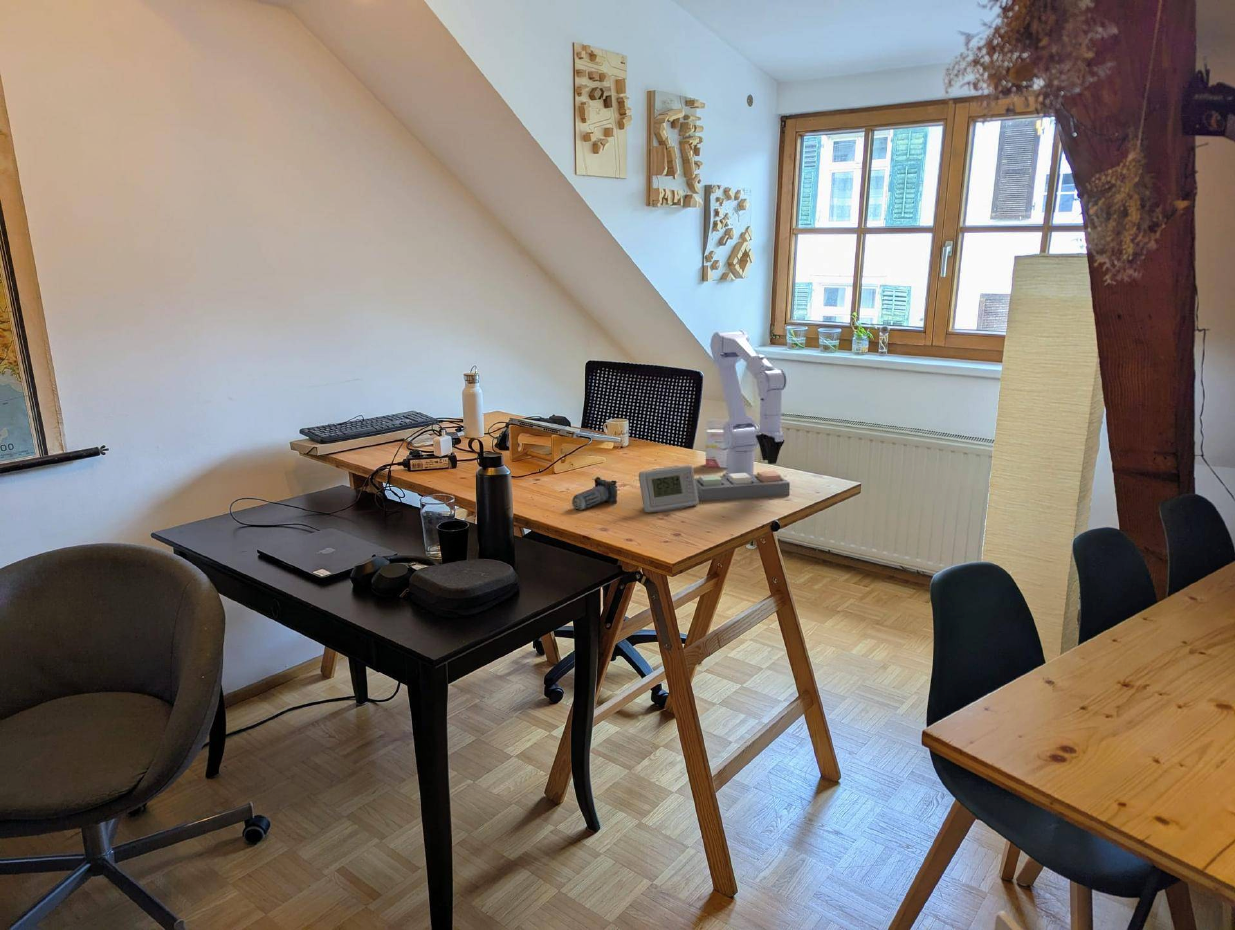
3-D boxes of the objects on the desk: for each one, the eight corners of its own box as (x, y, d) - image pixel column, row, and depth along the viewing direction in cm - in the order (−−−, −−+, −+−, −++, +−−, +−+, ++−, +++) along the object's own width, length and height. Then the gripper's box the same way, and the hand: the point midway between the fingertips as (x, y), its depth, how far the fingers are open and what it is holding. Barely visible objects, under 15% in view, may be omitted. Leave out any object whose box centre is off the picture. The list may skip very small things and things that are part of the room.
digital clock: (643, 515, 204) (642, 475, 201) (634, 505, 212) (634, 467, 210) (703, 509, 207) (703, 470, 205) (692, 500, 216) (692, 462, 213)
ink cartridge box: (705, 467, 250) (705, 422, 246) (705, 464, 255) (705, 419, 251) (733, 467, 249) (733, 422, 246) (732, 464, 254) (733, 419, 250)
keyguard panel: (691, 490, 225) (691, 478, 224) (774, 484, 229) (775, 473, 228) (701, 501, 214) (701, 488, 214) (789, 494, 219) (789, 482, 218)
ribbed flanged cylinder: (600, 503, 220) (569, 515, 211) (594, 476, 219) (563, 488, 210) (623, 503, 213) (592, 516, 205) (618, 475, 212) (586, 487, 204)
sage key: (699, 481, 222) (699, 475, 221) (716, 480, 222) (716, 474, 222) (704, 486, 217) (704, 480, 216) (721, 485, 218) (721, 479, 217)
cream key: (728, 480, 223) (728, 473, 223) (745, 478, 224) (745, 472, 223) (734, 484, 218) (734, 478, 218) (751, 483, 219) (751, 477, 219)
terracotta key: (757, 478, 224) (757, 471, 224) (774, 476, 225) (774, 470, 225) (763, 482, 220) (763, 476, 219) (780, 481, 220) (780, 475, 220)
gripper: (747, 410, 224) (747, 456, 227) (765, 419, 210) (764, 468, 214) (771, 408, 225) (770, 455, 229) (791, 417, 211) (789, 467, 215)
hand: (769, 461), depth 221 cm, fingers open, 4 cm apart
